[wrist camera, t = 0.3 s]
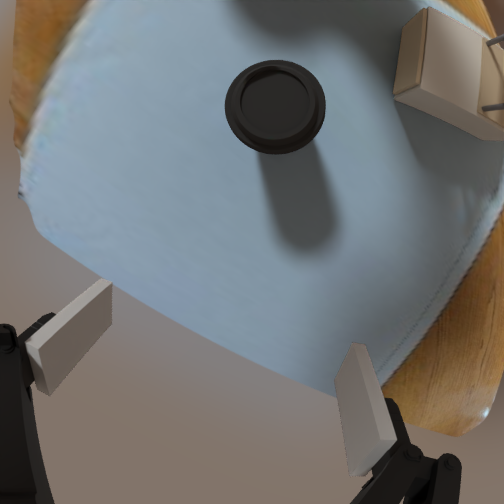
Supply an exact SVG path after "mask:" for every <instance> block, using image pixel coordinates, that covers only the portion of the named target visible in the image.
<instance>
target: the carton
mask: <svg viewBox="0 0 504 504" xmlns="http://www.w3.org/2000/svg"><path fill="white" fill-rule="evenodd" d="M483 37H484V36H482V35H481V34H479V33H477V32H476V31H474V30H472V29H471V28H469V27H467V26H466V25H464V24H462V23H460V22H459V21H457V20H455V19H453V18H451V17H449V16H448V15H446V14H444V13H442V12H440V11H438V10H436V9H434V8H432V7H428V8H427V9H426V8H423V9H421V10H420V11H419V12H418V13H417V14H416V15H415V16H414V17H413V18H412V19H411V20H410V21H409V22H408V23H407V24H406V25H405V26H404V27H403V28H402V35H401V43H400V50H399V57H398V64H397V70H396V76H395V82H394V88H393V94H395V96H394V100H396V101H398V102H401V103H404V104H406V105H409V106H411V107H414V108H416V109H418V110H421V111H423V112H425V113H428V114H430V115H432V116H434V117H437V118H439V119H441V120H443V121H445V122H447V123H449V124H451V125H453V126H456V127H458V128H460V129H462V130H463V131H465V132H467V133H469V134H471V135H473V136H475V137H477V138H479V139H480V140H482V141H504V128H503V127H501V126H499V125H498V124H496V123H495V122H493V121H491V120H490V119H488V118H486V117H484V116H483V115H481V114H479V113H478V112H477V105H478V96H479V86H480V74H481V56H482V38H483ZM486 39H487V38H486ZM495 45H496V44H495ZM498 47H499V46H498ZM501 49H502V48H501ZM502 50H503V49H502Z"/></svg>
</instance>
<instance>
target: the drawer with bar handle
mask: <svg viewBox="0 0 504 504" xmlns="http://www.w3.org/2000/svg"><path fill="white" fill-rule="evenodd" d="M501 41H504V34H503V35H501V36H498V37H496V38H493V39H491V40H488V39H486V38H485V37H483V38H482V56H481V74H480V86H479V96H478V105H477V112H478V113H479V114H481V115H483V116H484V117H486V118H488V119H490V120H491V121H493V122H495V123H496V124H498V125H499V126H501V127H503V128H504V50H502V49H501V48H500V47H498V46H497V45H495V44H497V43H499V42H501Z"/></svg>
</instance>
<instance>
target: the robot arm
mask: <svg viewBox="0 0 504 504" xmlns="http://www.w3.org/2000/svg"><path fill="white" fill-rule="evenodd" d="M111 324H112V282H110V281H107V280H104V279H99V280H98V281H97V282H96V283H94V284H93V285H92V286H91V287H89V288H88V289H87V290H86V291H85V292H83V293H82V294H81V295H79V296H78V297H77V298H76V299H74V300H73V301H72V302H71V303H70V304H68V305H67V306H66V307H65V308H64V309H63V310H61V311H60V312H59V313H58V314H54V313H52V312H51V313H49V314H46V315H44V316H42V317H41V318H40V319H38V320H37V322H35V323H34V324H32V326H30V327H29V328H28V329H27V330H25V331H24V332H23V333H22V334H21V335H19V336H18V337H17V334H16V330H15V328H14V327H13V326H11V325H9V324H0V504H55V503H54V500H53V497H52V493H51V490H50V487H49V483H48V479H47V475H46V471H45V467H44V463H43V459H42V455H41V450H40V444H39V439H38V434H37V428H36V422H35V415H34V407H33V399H32V390H31V387H30V385H31V384H32V382H33V381H34V380H35V384H36V387H37V389H38V390H39V391H41V392H43V393H45V394H46V395H48V396H51V395H52V393H53V392H54V391H55V389H56V388H57V387H58V386H59V385H60V384H61V382H62V381H63V380H64V379H65V378H66V376H67V375H68V374H69V373H70V371H71V370H72V369H73V368H74V367H75V366H76V365H77V363H78V362H79V361H80V360H81V359H82V358H83V356H84V355H85V354H86V353H87V352H88V351H89V349H90V348H91V347H92V346H93V345H94V344H95V342H96V341H97V340H98V339H99V338H100V337H101V336H102V335H103V333H104V332H105V331H106V330H107V329H108V328H109V327H110V326H111ZM334 382H335V388H336V393H337V399H338V405H339V411H340V417H341V423H342V429H343V435H344V442H345V449H346V456H347V463H348V471H349V476H365V475H367V473H368V472H369V471H370V470H371V469H372V474H373V477H372V478H371V479H370V480H369V481H368V482H367V483H366V484H365V485H364V486H363V487H362V490H361V491H360V492H359V494H358V495H357V496H356V497H355V498H354V499H353V501H352V502H351V503H350V504H399V503H400V502H401V500H402V499H403V497H404V496H405V497H404V501H403V504H458V502H459V493H460V484H461V470H462V466H461V462H460V460H459V459H458V458H457V457H456V456H455V455H453V454H449V453H446V454H443V455H442V456H440V458H439V459H433V458H429V457H425V456H424V455H423V453H422V451H421V449H419V448H418V447H417V446H415V445H413V444H411V442H410V439H409V436H408V434H407V431H406V428H405V425H404V422H403V419H402V416H401V413H400V410H399V408H398V405H397V404H396V403H395V402H394V401H393V399H392V398H384V397H383V394H382V391H381V388H380V385H379V382H378V379H377V376H376V373H375V370H374V368H373V365H372V362H371V359H370V356H369V354H368V351H367V348H366V346H365V344H359V343H353V342H352V344H351V346H350V349H349V351H348V353H347V355H346V357H345V359H344V361H343V363H342V366H341V368H340V370H339V372H338V374H337V376H336V378H335V380H334Z"/></svg>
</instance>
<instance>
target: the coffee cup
mask: <svg viewBox="0 0 504 504" xmlns="http://www.w3.org/2000/svg"><path fill="white" fill-rule="evenodd" d="M325 107H326V102H325V95H324V92H323V89H322V87H321V85H320V83H319V82H318V80H317V79H316V78H315V76H314V75H313V74H312V73H310V72H309V71H308V70H307V69H305V68H304V67H302V66H300V65H298V64H295V63H293V62H289V61H284V60H268V61H263V62H260V63H257V64H254V65H252V66H250V67H248V68H247V69H245V70H244V71H242V72H241V73H240V74H239V75H238V76H237V77H236V78H235V79H234V81H233V82H232V84H231V85H230V87H229V89H228V92H227V95H226V99H225V114H226V118H227V121H228V124H229V126H230V128H231V130H232V131H233V133H234V134H235V135H236V137H237V138H238V139H239V140H240V141H241V142H243V143H244V144H245V145H247V146H248V147H250V148H252V149H254V150H256V151H259V152H262V153H266V154H286V153H290V152H293V151H296V150H298V149H300V148H302V147H304V146H305V145H307V144H308V143H309V142H310V141H312V140H313V139H314V137H315V136H316V135H317V134H318V132H319V130H320V129H321V126H322V124H323V121H324V118H325V109H326V108H325Z"/></svg>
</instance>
